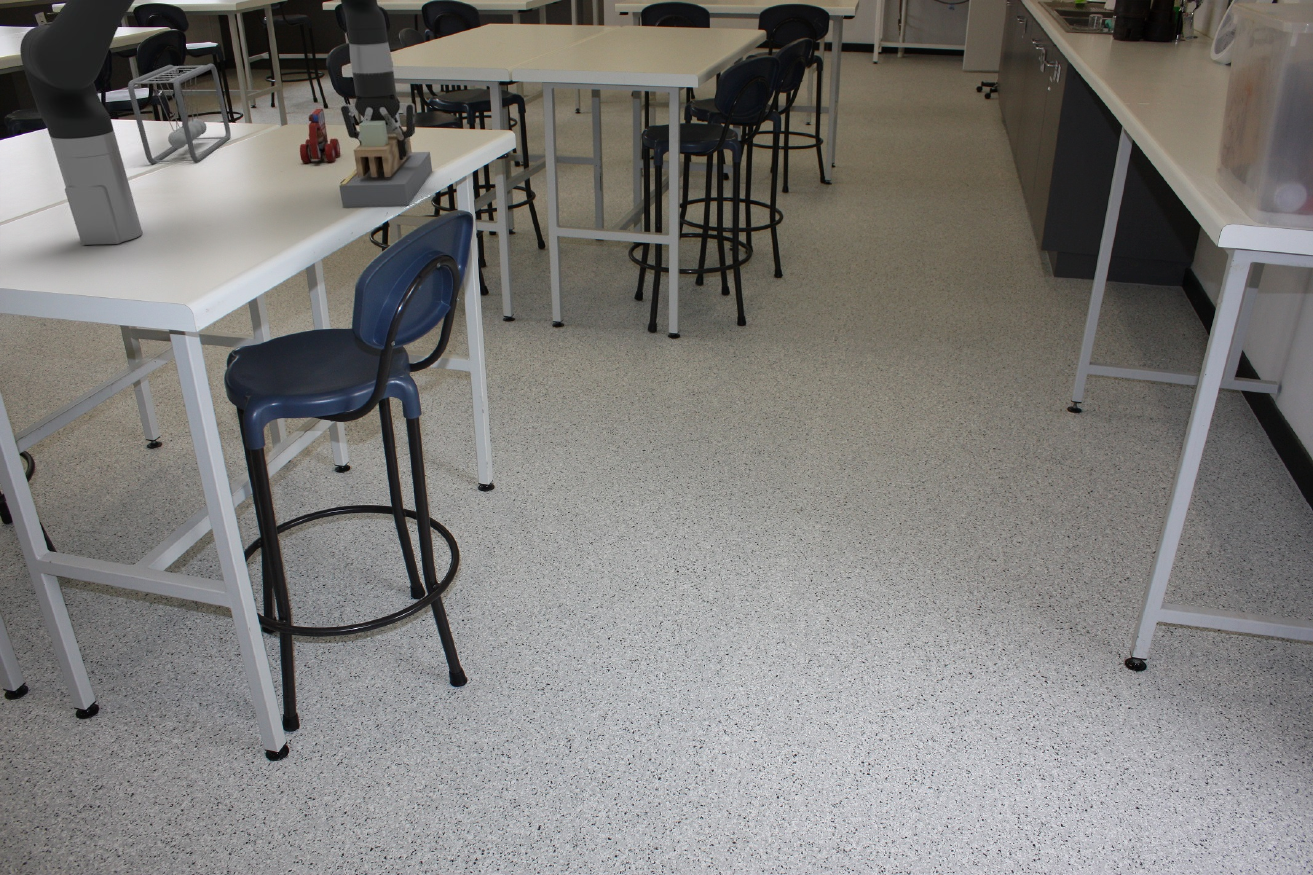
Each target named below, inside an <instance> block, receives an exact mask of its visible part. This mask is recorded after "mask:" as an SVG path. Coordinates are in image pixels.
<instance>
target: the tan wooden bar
mask: <svg viewBox="0 0 1313 875" xmlns="http://www.w3.org/2000/svg"><path fill="white" fill-rule="evenodd" d="M402 128H403V130H404V131H406V127H402ZM387 138H388V143H387V144H386V145H385V146H384V147H362V143H361V144H360V143H359V145H358V146H357V147H355V148H354V149H353V156H354V161H355V162H354V163H355V168H356V169H357V175H358V178H360V177H364V176H365V175H366V174H367V173H368V172H369V171H371V177H377V176H378V175H379V174H380V173H381V172H382V171H383V170H384V174H385V177H391V175H392V174H393V173H394V172H395V171H396V170H397V169H398V168H399V166H400V165H401V164H402V163H403V162H404V161H405V160H406V158H407V157H408V156H409V155H410V154H411V153H412V152H413V151H412V150H413V149H412V143H411V137H408V138H406V143H407V151H408V154H407V156H406V157H405V159H404V160H400V158H399V150H398V143H397V141H398V138H397V136H396V135H395V134H387Z"/></svg>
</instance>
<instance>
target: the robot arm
mask: <svg viewBox="0 0 1313 875" xmlns="http://www.w3.org/2000/svg"><path fill="white" fill-rule="evenodd" d="M135 1H136V0H67V1H66V2H65V3H64V5H63V6H62V8H61V10H59V13H58V14H57V15H56V17H55V18H54V20H53V21H52V22H51V23H50V24H43V25H38V26H37V25H36V26H35V27H33V28H31V29H30V30H28V31H27V32H26V33H25V35H23V38H22V39H21V42H20V48H19V49H20V50H19V53H20V59H21V64H22V67H23V71H24V72H25V73H24V74H25V76H26V80H27V81H28V82H27V83H28V86H29V89H30V91H31V95H32V96H33V99H34V102H35V105H36V108H37V111H38V113H39V115H40V117H41V118H42V121H43V122H44V124H45V127H46V129H47V132H48V135H49V138H50V140H51V144H52V147H53V151H54V154H55V158H56V160H57V164H58V167H59V169H60V170H59V171H60V173H61V177H62V180H63V183H64V187H65V188H64V193H65V195H66V199H67V201H68V205H69V208H70V211H71V215H72V218H73V221H74V224H75V228H76V230H77V233H78V236H79V241H80V243H81V245H82V246H84V245H87V246H89V245H92V246H93V245H118V244H121V243H123V242H127V241H130V240H133V239H136V238H139V237H140V236H142V235H143V230H142V225H141V222H140V219H139V215H138V211H137V208H136V205H135V201H134V198H133V197H134V196H133V193H132V189H131V186H130V183H129V179H128V175H127V173H126V169H125V168H126V167H125V165H124V161H123V158H122V155H121V151H120V146H119V144H118V140H117V136H116V133H115V130H114V127H113V126H114V125H113V122H112V119H111V116H110V114H109V112H108V111H107V109H106V108H105V107H104V105H103V102H102V101H101V100H100V97H99V94H98V91H97V88H96V85H95V81H96V79H98V76H99V74H100V73H101V70H102V68H103V65H104V63H105V60H106V57H107V55H108V52H109V50H110V47H111V45H112V43H113V40H114V38H115V36H116V34H117V30H118V29H119V27H120V24H121V23H122V21H123V20H124V17H125V16H126V14H127V13H128V11H129V9H130V8H131V7H132V5H133V4H134V2H135ZM340 3H341V6H342V9H343V13H344V15H345V21H346V22H345V23H346V25H345V26H346V32H347V38H348V43H349V45H348V46H349V58H350V60H349V61H350V66H351V73H352V78H353V85H354V92H355V98H356V100H355V103H353V104H348V103H345V104H343V105H342V106H340V111H341V114H342V118H343V121H344V122H343V123H344V124H345V127H346V132H347V135H348V137H349V138H351V139H356V140H358V142H359V145H360V144H361V136H360V130H358V129H357V125H356V121H355V119H354V116H355V115H356V111H357V112H358V114H360V116H361V117H362V119H363V120H362V122H363V121H385V124H386V125H389V126H390V128H391V129H392V130H393V131H394V133H395V135H396V136H397V138H398V141H397V143H398V150H399V158H400V160H404V159H405V157H406V156H407V154H408V151H407V143H406V138H408V137H410V138H411V137H413V136H414V134H415V133H416V105H415V104H414V103H413V102H410V103H405V102H404V103H403V102H401V101H400V100H399V99H398V95H397V89H396V81H395V80H396V79H395V73H394V62H393V58H392V53H391V50H390V45H389V38H388V33H387V32H388V31H387V24H386V19H385V16H384V13H383V11H382V10H381V8H380V7H379V5H378V1H377V0H340ZM400 110H401V111H402V114H403V115H404V116H406V119H405V120H406V121H405V123H406V125H405V126H406V127H405V128H406V131H404V130H403V128H404V127H403V126H402V125H401V121H400V122H399V120H398V119H397V117H396V115H397V113H398V112H399V111H400ZM394 120H395V121H394Z"/></svg>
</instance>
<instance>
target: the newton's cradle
mask: <svg viewBox="0 0 1313 875" xmlns="http://www.w3.org/2000/svg"><path fill="white" fill-rule="evenodd" d="M190 68H191V69H190ZM178 69H184V71H186V72H184V73H181V74H178V71H177V70H178ZM210 70H211V73H212V77H213V81H214V86H215V90H216V94H217V99H218V104H219V108H220V113H221V117H222V121H223V126H224V131H225V135H224V136H209V137H200V136H202V135H204V134H205V133H206V131H207V124H206V122H205V121H204V120H202V119H200V118H199V115H198V114H199V113H198V109H196V117H195V116H194V113H193V108H191V107H190V104H189V102H188V96H187V94H188V93H187V91H185V93H184V90H183V88H182V84H183V83H185V84H184V85H185V88H187V81H190V84H192V79H193V78H195V79H194V81H195V82H194V83H195V84H197V76H199V75H202V74H204V73H205V72H208V71H210ZM167 75H168V76H167ZM171 75H172V76H171ZM165 76H166V77H165ZM160 77H162V78H163V80H160ZM166 78H169V79H168V80H167V79H166ZM156 80H157V81H156ZM171 83H172V85H173V91H174V96H173V95H172V92H171V89H170V88H169V85H168V84H171ZM140 84H141V85H143V84H144V85H145V84H147V85H148V84H152V86H153V88H154V90H155V92H156V95H157V97H158V99H159V101H160V104H161V106H162V109H163V111H164V114H165V116H166V117H167V120H168V122H169V124H170V126H171V130H172V132H170V133H169V135H168V136H167V137H168V143H169V145H170V147H168V148H166V150H164V151H163V152H161V153H160V154H158V155H156V156H154V157H153V156H152V152H151V148H150V145H149V141H148V137H147V134H146V130H145V126H144V123H143V118H142V115H141V112H140V107H139V103H138V99H137V96H136V92H135V86H136V85H140ZM155 84H159V85H160V87H161V90H162V93H163V94H164V97H165V98H166V101H167V103H168V106H169V108H170V110H171V112H172V113H171V114H172V116H173V117H174V119H175V121H176V122H175V125H176V130H174V128H173V125H172V124H171V121H170V118H169V116H168V114H167V111H166V109H165V106H164V105H163V103H162V102H163V101H162V100H161V97H160V96H159V93H158V91H157V89H156V86H155ZM162 84H166V86H167V88H168V91H169V93H170V95H171V97H172V100H173V103H174V105H175V109H176V110H177V112H178V113H177V112H175V114H174V111H173V109H172V107H171V104H170V103H169V100H168V98H167V95H166V93H165V91H164V89H163V85H162ZM127 89H128V95H129V98H130V103H131V105H132V106H131V107H132V109H133V113H134V117H135V121H136V125H137V128H138V133H139V136H140V140H141V142H142V146H143V150H144V153H145V158H146V160H147V162H148V163H149V164H151V165H156V164H157V163H171V162H172V163H175V162H194V163H199V162H201V161H203V159H205V158H206V157H208V156H209V155H210V154H212V153H213V152H214V151H216V150H217V149H218V148H219V147H221V146H222V145H224V144H225V143H227V141H229V140H230V139H231V128H230V123H229V119H228V114H227V110H226V107H225V106H226V105H225V100H224V97H223V96H224V95H223V92H222V88H221V84H220V78H219V74H218V70H217V68H216V66H215V64H214V63H208V64H206V65H205V64H204V65H203V64H202V65H178V66H177V65H175V66H174V65H172V64H168V65H166V66H164V67H161V68H158V69H156V70H153V71H151V72H148V73H146V74H144V75H141V76H138V77H136V78H134V79H132V80H130V81H128V84H127ZM197 91H198V90H197V88H195V98H196V100H195V101H196V103H195V104H196V105H198V93H197ZM192 93H193V90H192V88H190V100H191V101H190V102H191V104H193V94H192ZM184 99H185V100H184ZM185 101H186V102H185ZM185 103H186V105H185ZM187 107H189V110H190V112H191V118H192V120H190V118H189V114H188V110H187ZM177 114H179V116H180V118H181V119H180V121H181V126H180V125H179V123H178V115H177ZM178 127H179V128H178ZM195 140H217V141H216V142H214V143H213V144H212V145H211V146H209V147H208V148H206V149H205V150H203V151H202V152H201V153H200V154H198V155H196V151H195V146H194V143H193V141H195ZM186 145H187V147H188V152H189V156H190V158H187V159H185V158H184V159H166V157H167V156H170V155H171V154H172V153H174V152H175V151H177V150H178V149H182V148H184V147H186Z"/></svg>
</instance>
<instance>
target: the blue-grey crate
mask: <svg viewBox="0 0 1313 875" xmlns="http://www.w3.org/2000/svg"><path fill="white" fill-rule="evenodd" d="M399 113H400V112H399V111H398V113H397V115H396V117H397V119H398V120H399V122H400V123H401V119H400V114H399ZM394 121H395V120H394ZM386 131H387V134H395V133H394V131H393V130H392V129H391V128H390V126H389V125H386Z"/></svg>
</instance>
